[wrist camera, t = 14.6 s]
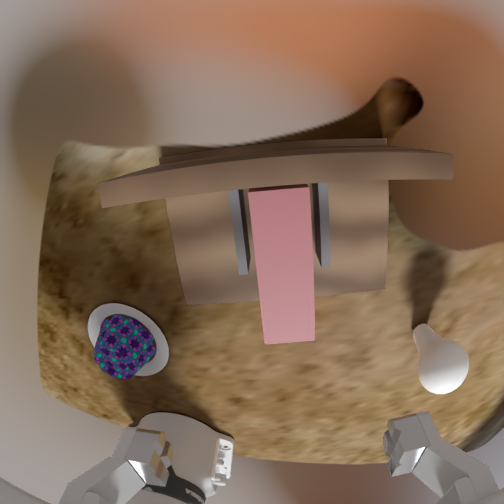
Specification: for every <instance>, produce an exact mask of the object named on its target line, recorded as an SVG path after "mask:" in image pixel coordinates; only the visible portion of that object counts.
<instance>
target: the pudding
mask: <svg viewBox="0 0 504 504" xmlns="http://www.w3.org/2000/svg"><path fill="white" fill-rule="evenodd" d="M113 314H116V315H113ZM118 314H124V315H128V316H131V317H133V318H135V319H133V318H128V319H126V318H125V317H124V316H122V315H118ZM110 315H113V316H112V318H111V319H106V320H104V319H105V318H106V317H108V316H110ZM136 319H137V320H138V321H137V320H136ZM103 320H104V321H103ZM102 321H103V323H102ZM139 321H140V322H141V323H142V324H144V325H145V326H146V327H147V328H148V329H149V330H150V332H151V333H152V334H151V333H150V332H149V331H147V330H145V329H143V327H142V324H141V323H140V322H139ZM101 324H102V326H101ZM100 327H101V329H100ZM88 333H89V337H90V340H91V342H92V344H93V346H94V348H95V353H94V357H95V360H96V362H97V363H98V364H99V365H100V368H101V369H102V370H103V371H104V372H105V373H108V374H110V375H111V376H112V377H114V378H118V379H120V378H123V379H129V378H131V377H133V376H134V375H136V376H149V375H153V374H155V373H158V372H159V371H160V370H162V369H163V368H164V367H165V365H166V363H167V361H168V357H169V348H168V344H167V341H166V339H165V337H164V335H163V333H162V332H161V330H160V329H159V327H158V326H157V325H156V324H155V323H154V322H153V321H152V320H151V319H150V318H149V317H148V316H146V315H145V314H143V313H142V312H140V311H138V310H136V309H134V308H133V307H130V306H127V305H123V304H118V303H109V304H104V305H101V306H99V307H97V308H96V309H95V310H94V311H93V312H92V313H91V315H90V317H89V320H88ZM152 335H153V336H152ZM153 337H154V339H155V341H156V345H157V351H156V348H155V347H154V346H153V344H152V343H153V341H154V339H153ZM155 353H156V355H155V357H154V358H153V360H151V361H150V362H148V361H149V360H150V359H151V358H152V357H153V356H154V354H155ZM147 362H148V363H147Z"/></svg>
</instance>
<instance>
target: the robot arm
mask: <svg viewBox="0 0 504 504" xmlns="http://www.w3.org/2000/svg"><path fill="white" fill-rule="evenodd" d="M387 427H388V430H387V431H386V432H385V433H384V437H383V447H384V452H385V454H386V455H387V456H388V457H390V459H389V462H388V466H389V469H390V473H391V476H397V475H401V474H406V473H409V472H412V473H413V474H414V475H415V476H416V477H418V478H419V479H420V480H421V481H422V482H423V483H425V484H426V485H427V486H428V487H429V488H431V489H432V490H433V491H434V492H435V493H436V494H438V495H439V496H440V497H441V499H440V500H439V501H438V502H437V503H436V504H504V488H503V489H501V490H499V489H498V486H497V484H496V482H495V479H494V477H493V475H492V473H491V471H490V468H489V466H488V465H486V464H484V463H483V462H481V461H479V460H478V459H476V458H474V457H472V456H471V455H469V454H467V453H466V452H464V451H462V450H461V449H459V448H457V447H456V446H454V445H452V444H451V443H449V442H447V441H444V442H443V441H442V439H441V436H440V434H439V432H438V430H437V428H436V426H435V423H434V421H433V419H432V417H431V415H430V413H429V412H428V411H423V412H419V413H416V414H410V415H406V416H402V417H398V418H394V419H390V420H389V421H388V424H387ZM233 448H234V439H233V438H231V437H229V436H227V435H224V434H221V433H218V432H216V431H214V430H213V429H211V428H210V427H208V426H207V425H205V424H203V423H201V422H199V421H197V420H195V419H192V418H189V417H186V416H183V415H179V414H174V413H152V414H148V415H146V416H144V417H143V418H142V419H141V420H140V422H139V424H138V426H136V427H126V428H125V429H124V431H123V433H122V436H121V438H120V440H119V442H118V444H117V447H116V449H115V451H114V454H113V456H112V457H108V458H107V459H105V460H104V461H102V462H100V463H99V464H98V465H96V466H94V467H93V468H92V469H90V470H88V471H87V472H85V473H84V474H82V475H81V476H79V477H77V478H76V479H74V480H73V481H71V482H70V483H68V485H67V487H66V489H65V491H64V493H63V496H62V498H61V500H60V502H59V504H204V503H205V500H206V498H207V497H209V496H211V495H213V494H215V493H216V491H217V485H222V486H225V485H226V479H228V478H230V475H231V468H232V458H233ZM0 504H50V503H48V502H45V501H43V500H41V499H39V498H37V497H35V496H33V495H31V494H29V493H28V492H26V491H24V490H22V489H20V488H18V487H17V486H15V485H13V484H11V483H10V482H8V481H6V480H4V479H3V478H1V477H0Z"/></svg>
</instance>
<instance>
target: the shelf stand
mask: <svg viewBox="0 0 504 504" xmlns="http://www.w3.org/2000/svg"><path fill="white" fill-rule="evenodd" d="M159 161H160V165H158V166H154V167H151V168H147V169H144V170H140V171H137V172H133V173H130V174H126V175H123V176H120V177H117V178H113V179H110V180H107V181H104V182H101V183H98V190H99V195H100V201H101V206H102V208H107V207H113V206H119V205H125V204H131V203H138V202H144V201H151V200H158V199H165V200H166V206H167V212H168V218H169V224H170V229H171V234H172V240H173V245H174V250H175V255H176V260H177V265H178V270H179V275H180V279H181V284H182V289H183V293H184V298H185V302H186V305H194V304H215V303H233V302H249V301H260V297H259V288H258V279H257V270H256V261H255V252H254V243H253V234H252V225H251V216H250V208H249V199H248V191H249V188H259V187H270V186H282V185H295V184H307V185H308V186H309V190H310V205H311V222H312V242H313V267H314V296H325V295H335V294H345V293H355V292H364V291H373V290H382V289H385V280H386V266H387V248H388V214H389V190H388V180H395V179H397V180H398V179H453V154H451V153H444V152H437V151H430V150H423V149H414V148H406V147H396V146H387V139H386V138H358V139H324V140H304V141H289V142H276V143H265V144H255V145H245V146H236V147H228V148H220V149H212V150H205V151H198V152H192V153H185V154H179V155H173V156H167V157H162V158H159Z"/></svg>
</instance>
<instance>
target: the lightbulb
mask: <svg viewBox="0 0 504 504" xmlns="http://www.w3.org/2000/svg"><path fill="white" fill-rule="evenodd" d="M413 338H414V340H415V342H416V347H417V350H418V352H419V364H418V375H419V379H420V382H421V384H422V385H423V386H424V387H425V388H426V389H427V390H428V391H430V392H432V393H435V394H446V393H449V392H451V391H453V390H455V389H456V388H458V387H459V386H460V385H461V384H462V382H463V381H464V379H465V378H466V375H467V372H468V367H469V360H468V355H467V353H466V351H465V349H464V348H463V347H462V346H461V345H460V344H459V343H457V342H455V341H452V340H447V339H443V338H442V337H440V336H439V335H438V334H437V333H436V332H435V331H433V330H432V329H431V328H430V327H429V326H428V325H427V324H420V325H418V326H417V327H416V328H415V329H414V331H413Z"/></svg>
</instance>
